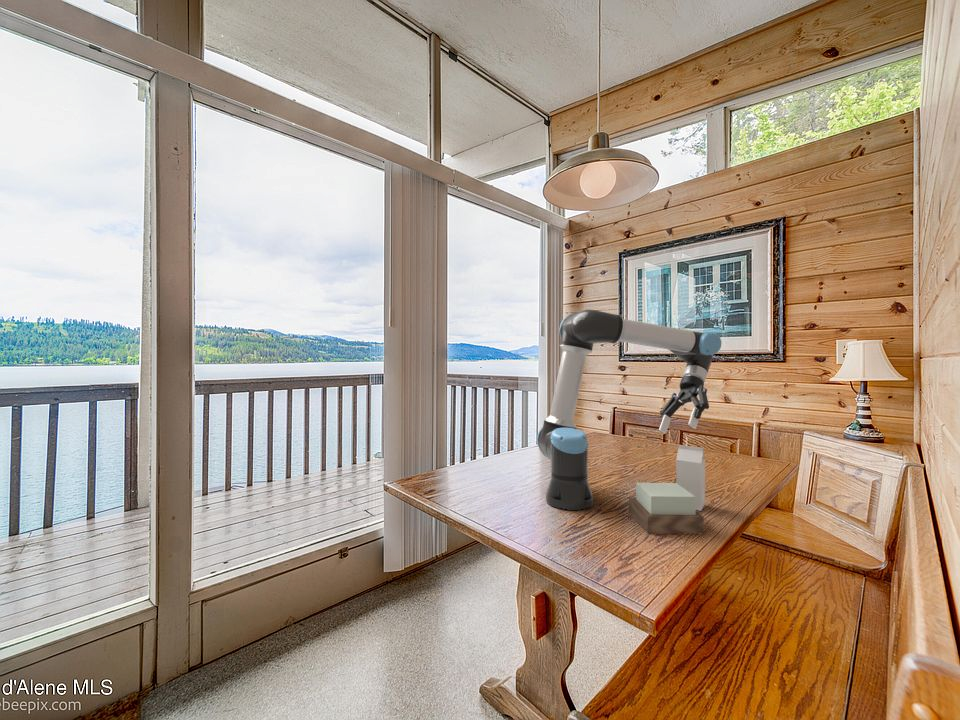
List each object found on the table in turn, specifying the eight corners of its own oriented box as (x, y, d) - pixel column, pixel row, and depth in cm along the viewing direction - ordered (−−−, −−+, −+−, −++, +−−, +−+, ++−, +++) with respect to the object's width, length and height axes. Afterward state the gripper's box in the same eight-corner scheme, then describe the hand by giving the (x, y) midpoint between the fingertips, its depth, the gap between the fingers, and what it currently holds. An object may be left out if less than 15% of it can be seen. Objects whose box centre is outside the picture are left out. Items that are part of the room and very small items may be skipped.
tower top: (651, 514, 113) (651, 496, 113) (635, 499, 125) (635, 482, 125) (695, 514, 112) (695, 496, 112) (676, 499, 124) (676, 483, 124)
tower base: (647, 534, 111) (647, 516, 111) (628, 513, 126) (628, 497, 126) (703, 535, 111) (703, 516, 111) (678, 513, 126) (678, 497, 126)
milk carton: (701, 511, 126) (701, 450, 126) (676, 506, 131) (676, 447, 130) (705, 504, 132) (705, 445, 132) (680, 500, 136) (680, 443, 136)
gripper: (730, 378, 140) (714, 430, 131) (675, 393, 163) (659, 439, 154) (713, 365, 139) (697, 417, 130) (660, 382, 162) (643, 428, 153)
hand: (676, 429), depth 142 cm, fingers open, 13 cm apart
